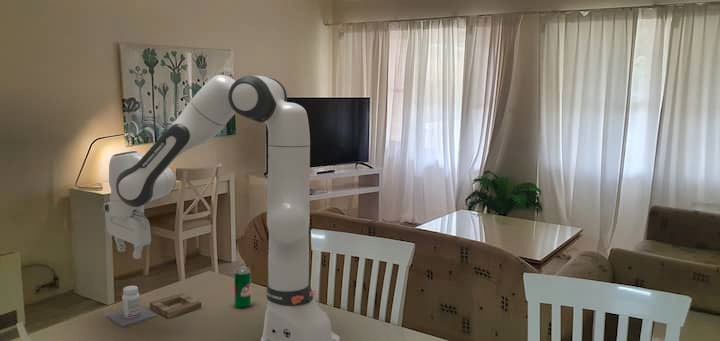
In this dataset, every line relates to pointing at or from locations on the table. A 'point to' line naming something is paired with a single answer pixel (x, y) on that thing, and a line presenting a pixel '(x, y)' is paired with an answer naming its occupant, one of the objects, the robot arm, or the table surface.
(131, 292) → the pill bottle
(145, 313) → the grey mat
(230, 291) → the table surface
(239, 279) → the soda can
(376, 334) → the table surface
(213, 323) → the table surface
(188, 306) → the frame
